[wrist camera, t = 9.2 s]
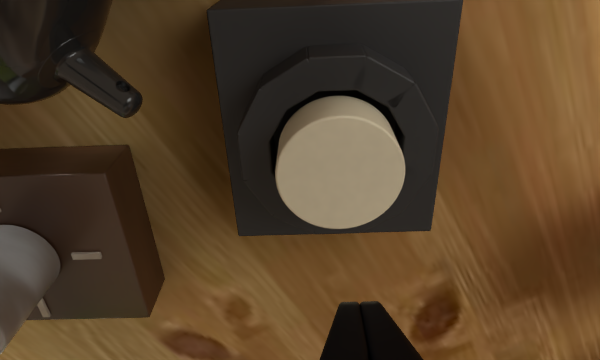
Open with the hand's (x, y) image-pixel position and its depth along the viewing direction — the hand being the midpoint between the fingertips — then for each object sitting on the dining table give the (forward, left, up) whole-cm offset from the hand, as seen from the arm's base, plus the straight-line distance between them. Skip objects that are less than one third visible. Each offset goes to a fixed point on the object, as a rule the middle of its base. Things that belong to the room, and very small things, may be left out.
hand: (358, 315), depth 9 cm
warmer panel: (-15, -6, -13) cm, 21 cm away
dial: (-15, -6, -10) cm, 19 cm away
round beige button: (0, 0, -8) cm, 8 cm away
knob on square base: (0, 0, -13) cm, 13 cm away
